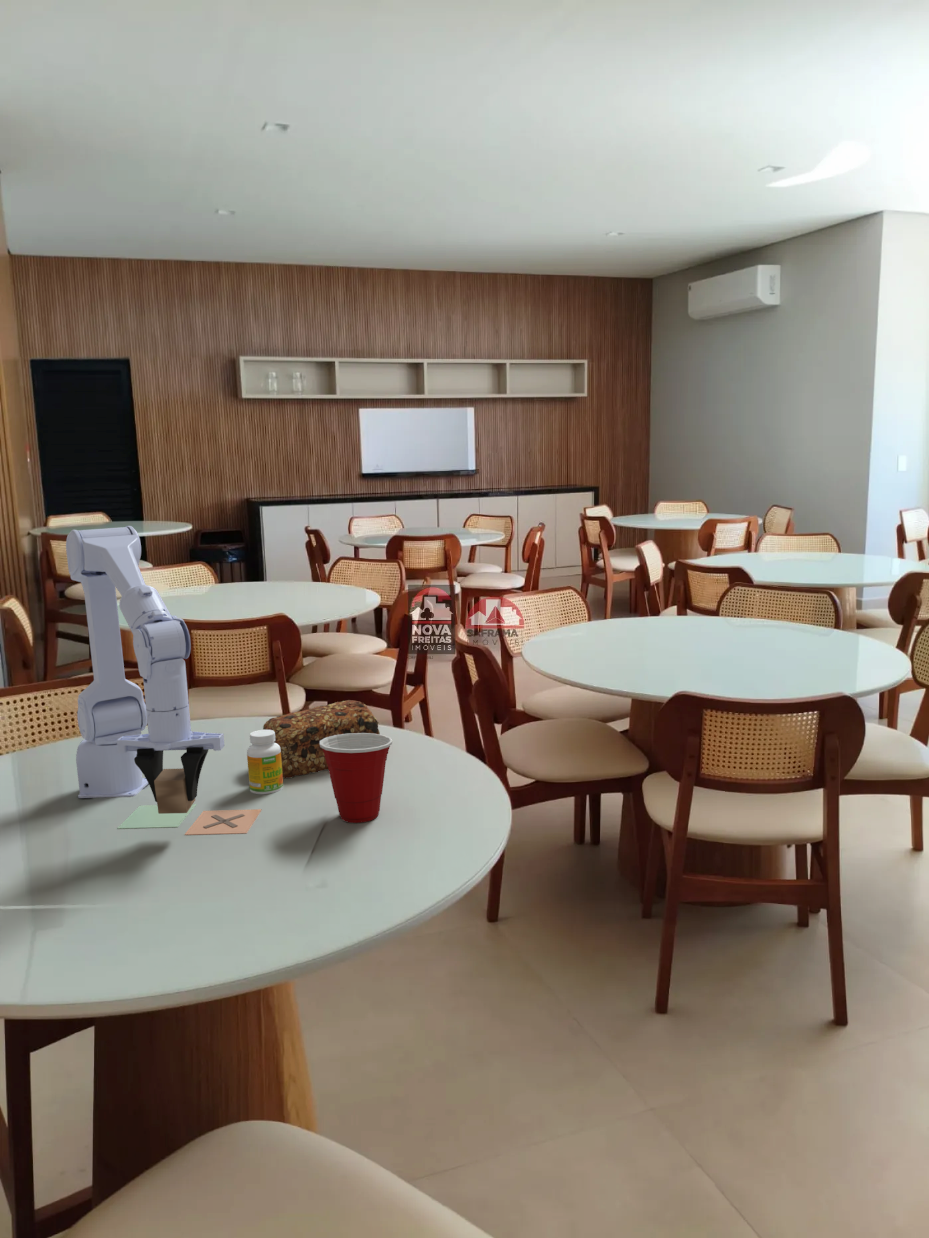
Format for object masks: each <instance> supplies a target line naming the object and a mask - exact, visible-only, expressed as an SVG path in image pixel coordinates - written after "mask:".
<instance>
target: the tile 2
mask: <svg viewBox="0 0 929 1238" xmlns="http://www.w3.org/2000/svg"><path fill="white" fill-rule="evenodd" d="M262 811H263V810H262V809H261V808H258V809H227V810H226V809H223V810H221V809H220V810H218V809H217V810H215V809H214V810H202V812H201V814H200V815H199V816H198V817H197V818H196V819H195V821H194V822H193V823H192V825H190V827H189V828H188V829H187V831H186V832H185V833H184V836H201V835H202V836H203V835H236V834H237V835H240V834H241V835H243V834H244V835H245V834H248V832H249V831H250V829H251V827H252V826H253V825H254V823H255V822H256V820H257V818H258V817H259V816H260V813H261V812H262Z"/></svg>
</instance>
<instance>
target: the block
mask: <svg viewBox="0 0 929 1238" xmlns="http://www.w3.org/2000/svg"><path fill="white" fill-rule="evenodd" d="M154 784H155V791H156V799H157V802H156V803H157V804H156V805H157V806H158V813H159V814H168V813H187V812H188V810H189V809H190V807H191V806H192V804H195V802H196V798H195V799H194V800H193V801H188V799H187V794H186V779H185V773H184V769H183V767H182V768H163V771H162V772H161V773H160V774H159V776H158V777H157V778H156V779H155V781H154Z"/></svg>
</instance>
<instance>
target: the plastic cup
mask: <svg viewBox="0 0 929 1238" xmlns="http://www.w3.org/2000/svg"><path fill="white" fill-rule="evenodd" d="M392 744H393V739H392V737H390V736H388V735H384V734H380V735H379V734H371V733H349V734H341V735H334V736H330V737H326V738H324V739H322V740H320V747H321V748H322V750H323V752H324V756H325V758H326V763H327V765H328V769H329V770H328V773H329V778H330V782H331V786H332V791H333V795H334V799H335V801H336V805H337V811H338V815H339V816H340V819H341V820H342V821H344V822H347V823H351V824H352V823H353V824H360V823H366V822H370V821H373V820H375V819H377V817H379V814H380V811H381V800H382V799H381V798H382V795H383V787H384V779H385V773H386V770H385V769H386V763H387V759H388V754H389V750H390V747H391V745H392Z"/></svg>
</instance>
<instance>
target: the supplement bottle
mask: <svg viewBox="0 0 929 1238" xmlns="http://www.w3.org/2000/svg"><path fill="white" fill-rule="evenodd" d="M249 740H250V744H251V745H250V746H249V747H247V749H246V758H247V759H246V760H247V771H248V784H249V792H250V793H252V794H257V795H268V794H274V793H276V792H279V791H281V790H283V788H284V778H283V775H282V761H281V749H280V746H279V745H278V744H277V743H274V741H275V732H274V731H273V730H263V729H259V730H254V731H252V732H250V733H249Z"/></svg>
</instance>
